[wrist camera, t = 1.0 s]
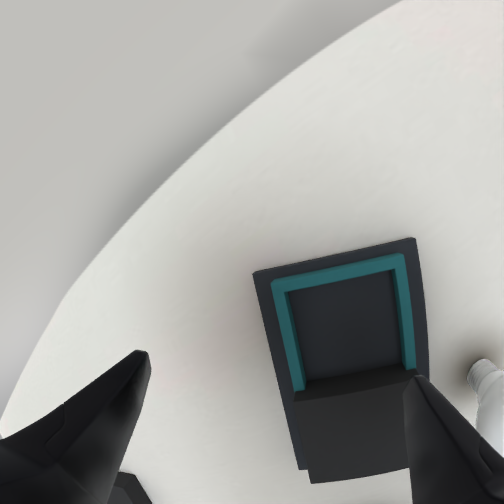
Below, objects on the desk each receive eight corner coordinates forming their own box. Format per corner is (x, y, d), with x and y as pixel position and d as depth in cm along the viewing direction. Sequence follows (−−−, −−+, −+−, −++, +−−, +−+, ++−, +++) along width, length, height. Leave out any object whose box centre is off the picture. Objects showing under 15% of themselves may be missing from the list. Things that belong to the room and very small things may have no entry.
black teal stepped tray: (424, 441, 22) (434, 468, 18) (299, 463, 24) (294, 492, 21) (412, 237, 21) (429, 240, 17) (254, 271, 24) (240, 281, 20)
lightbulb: (449, 411, 21) (490, 493, 10) (441, 354, 21) (497, 430, 10) (506, 382, 19) (563, 446, 9) (502, 323, 19) (577, 375, 9)
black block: (152, 504, 30) (142, 517, 27) (119, 495, 31) (109, 507, 28) (134, 474, 30) (123, 488, 27) (101, 467, 31) (89, 478, 28)
